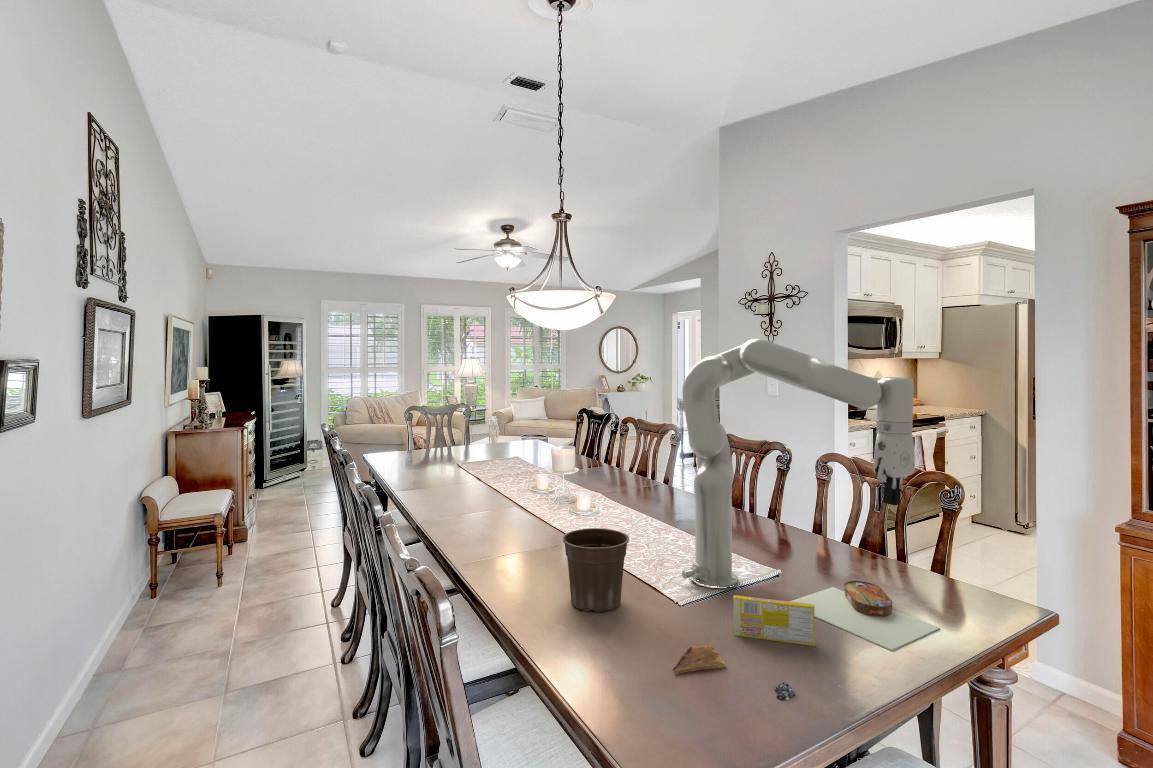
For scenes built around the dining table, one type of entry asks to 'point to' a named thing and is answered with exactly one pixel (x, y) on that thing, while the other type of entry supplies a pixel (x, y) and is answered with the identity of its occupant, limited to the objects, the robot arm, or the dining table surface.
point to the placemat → (867, 620)
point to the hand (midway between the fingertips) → (891, 503)
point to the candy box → (774, 620)
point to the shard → (699, 659)
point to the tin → (868, 598)
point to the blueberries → (784, 691)
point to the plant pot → (595, 567)
